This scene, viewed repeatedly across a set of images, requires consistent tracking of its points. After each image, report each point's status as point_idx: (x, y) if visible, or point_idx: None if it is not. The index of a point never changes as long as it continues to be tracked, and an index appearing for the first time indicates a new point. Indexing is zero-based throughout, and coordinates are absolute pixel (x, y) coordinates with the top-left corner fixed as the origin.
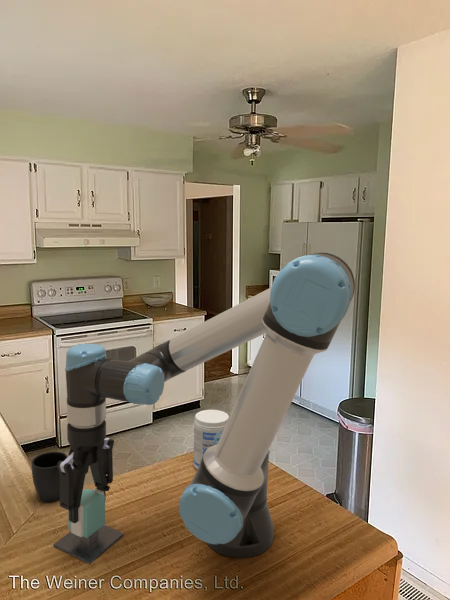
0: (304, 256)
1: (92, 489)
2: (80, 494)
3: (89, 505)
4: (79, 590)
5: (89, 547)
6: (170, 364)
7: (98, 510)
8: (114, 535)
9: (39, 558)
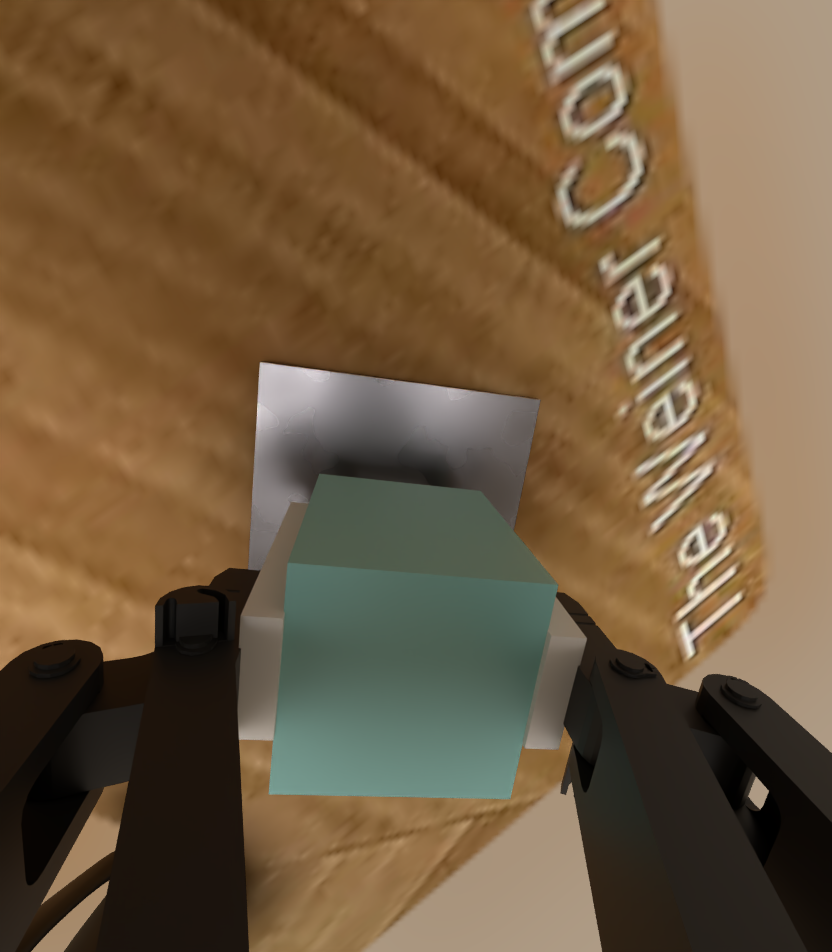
0: None
1: (267, 738)
2: (655, 756)
3: (508, 594)
4: (698, 332)
5: (448, 469)
6: None
7: (389, 528)
8: (303, 402)
9: None
